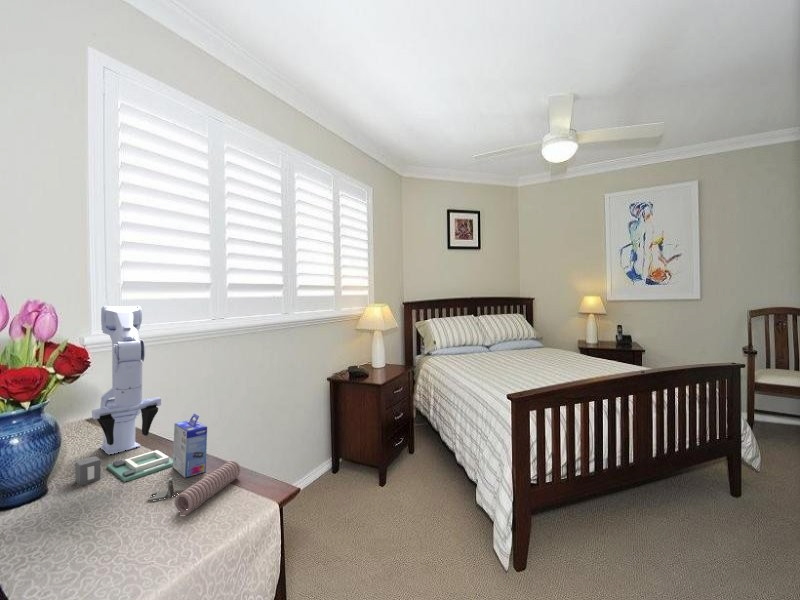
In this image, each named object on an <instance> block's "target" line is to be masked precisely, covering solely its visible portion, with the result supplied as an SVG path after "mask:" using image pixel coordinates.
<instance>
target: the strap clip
mask: <svg viewBox="0 0 800 600" xmlns="http://www.w3.org/2000/svg"><path fill="white" fill-rule="evenodd" d="M166 487H167V490H163V491H157V492H153V493H150V494H149V496H148V498H147V502H148V501H153V500H159V499H164V498H166V499H168V498H170V497H172V496H173V497H176V496H177V495H178V494H180V493H182V492H183V491H185V490H186V489H187V488H186V489H185V488H184V489H180V490H175V489H174V482H173V477H172V476H171V477H169V479H168V481H167V485H166ZM177 493H178V494H177ZM168 494H169V495H168ZM153 495H155V496H153ZM174 495H175V496H174ZM151 496H152V497H151ZM167 496H168V497H167ZM150 498H151V499H150ZM164 500H165V499H164ZM159 501H160V500H159Z"/></svg>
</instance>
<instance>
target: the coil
mask: <svg viewBox="0 0 800 600" xmlns="http://www.w3.org/2000/svg"><path fill="white" fill-rule="evenodd" d="M240 475H241V466H240V464H239V462H238V461H236V460H228V461H227V462H225V463H224V464H223V465H221V466H220V467H218V468H217V469H215V470H214V471H212V472H210V473H209V474H207V475H206V476H204V477H202V478H201V479H200V480H198V481H197V482H195V483H194V484H192V485H191V486H189V487H188V488H186V490H185V489H184V490H185V491H183V492H182V493H180V494H179V495H177V497H176V498H174V499H175V500H174V506H175V508H176V509H177V511H178V512H179V511H180V513H179V516H180V515H186V516H189V514H190V513H192V512H193V511H194V509H195V510H196V509H197V508H199V507H200V506H201V505H203V504H204V503H205V502H206V501H208V500H209V499H210V498H212V497H213V496H215V495H214V494H217V493H219V492H220V491H221V490H223V489H224V488H225V487H227V486H228V485H230V484H231V483H232V482H234V480H237V478H238V477H239V476H240ZM207 499H208V500H207ZM186 509H188V510H186Z"/></svg>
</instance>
